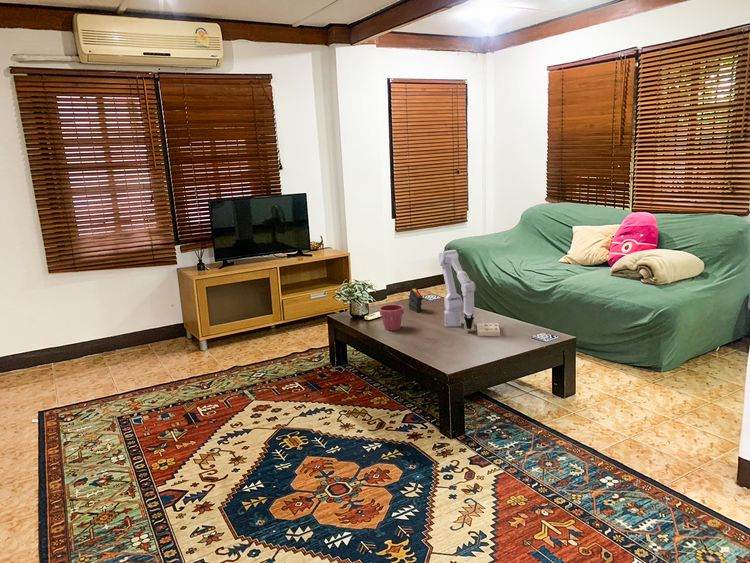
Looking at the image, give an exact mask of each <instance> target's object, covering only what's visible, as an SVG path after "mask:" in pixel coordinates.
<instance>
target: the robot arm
mask: <svg viewBox="0 0 750 563" xmlns="http://www.w3.org/2000/svg"><path fill="white" fill-rule="evenodd" d="M437 257H438V261H439V265H440V266H441V268H442V274H443V279H444V283H445V288H446V292H447V295H446V296H445V297H444V299H443V300H444V309H445V310H444V320H443V321H444V327H447V328H448V327H462V321H461V311H462V308H463V314H464V317H463V320H464V319H465V321H466V325H467V329H468V330H471V327H472V322H473V320H474V321H475V317H474V314H475V313H477V310H475V292H476V289H477V285H476V282H474V281H472V280H471V279H470V277H469V275H468V274H467V272H466V271H464V270H463V268H462V266H461V263H460V261H459V253H458V251H457V250H456V249H450V250H441V251H440V252H439V253H438V256H437ZM452 268H453V270H454V271H455V272H456V278H457V280H458V282H459V283H460V285H461V286H460V289H461V292H462V293H461V294H462V296H463V299H462V296H461V295H460V294H459V293H457V288H456V285H455V284H456V283H455V280H454V276H453V271H452Z"/></svg>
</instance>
